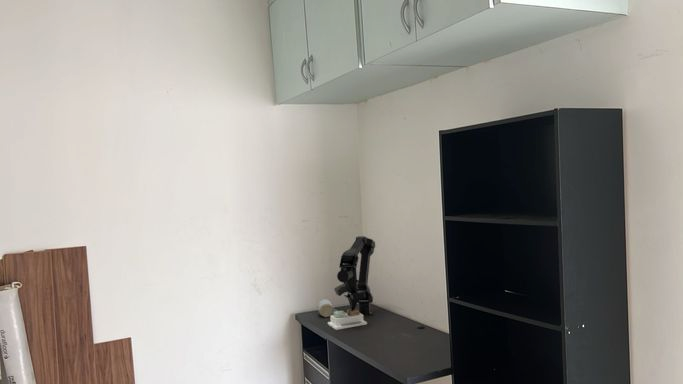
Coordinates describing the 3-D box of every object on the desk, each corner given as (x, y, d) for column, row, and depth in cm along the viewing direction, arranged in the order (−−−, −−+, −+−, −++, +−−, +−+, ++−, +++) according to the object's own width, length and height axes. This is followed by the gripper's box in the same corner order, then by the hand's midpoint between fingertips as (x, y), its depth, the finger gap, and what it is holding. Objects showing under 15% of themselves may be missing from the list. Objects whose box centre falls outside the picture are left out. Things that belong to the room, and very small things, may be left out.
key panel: (327, 324, 266) (327, 316, 266) (358, 319, 272) (357, 311, 271) (335, 329, 256) (335, 321, 255) (367, 324, 261) (366, 316, 261)
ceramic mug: (319, 318, 278) (319, 303, 277) (318, 314, 286) (317, 299, 285) (340, 316, 279) (339, 301, 279) (338, 312, 287) (337, 298, 287)
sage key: (334, 318, 265) (333, 311, 265) (342, 316, 267) (342, 310, 266) (337, 320, 261) (337, 313, 261) (345, 318, 262) (345, 312, 262)
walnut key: (347, 315, 268) (347, 309, 267) (355, 314, 269) (355, 308, 269) (350, 317, 263) (350, 311, 263) (359, 316, 265) (358, 310, 265)
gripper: (328, 277, 271) (330, 308, 272) (342, 283, 254) (344, 316, 255) (349, 274, 275) (351, 305, 276) (364, 280, 258) (366, 313, 259)
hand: (353, 310), depth 266 cm, fingers closed
